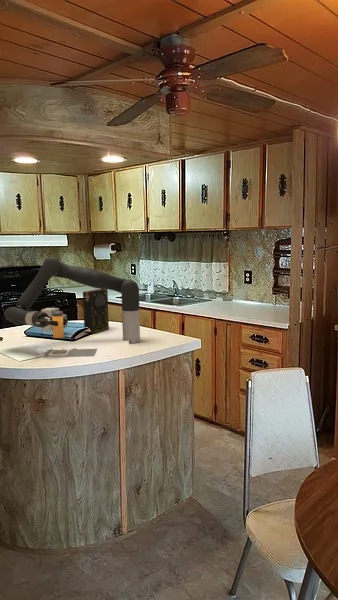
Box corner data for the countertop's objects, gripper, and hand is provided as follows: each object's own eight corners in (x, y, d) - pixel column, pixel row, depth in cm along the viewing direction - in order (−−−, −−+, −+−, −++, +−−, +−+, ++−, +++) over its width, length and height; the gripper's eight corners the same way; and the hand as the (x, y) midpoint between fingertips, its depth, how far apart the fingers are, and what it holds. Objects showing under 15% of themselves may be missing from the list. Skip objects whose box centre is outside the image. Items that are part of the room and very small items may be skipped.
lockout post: (64, 335, 222) (63, 311, 220) (62, 338, 217) (61, 312, 215) (54, 335, 221) (53, 311, 220) (52, 338, 216) (50, 313, 215)
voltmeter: (93, 334, 268) (91, 291, 265) (82, 332, 273) (80, 291, 269) (110, 329, 282) (109, 288, 278) (99, 328, 286) (98, 288, 282)
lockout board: (97, 351, 230) (97, 346, 230) (94, 359, 216) (94, 353, 216) (49, 352, 229) (48, 347, 229) (42, 360, 215) (42, 355, 215)
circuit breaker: (64, 336, 265) (63, 310, 263) (41, 335, 268) (40, 309, 266) (70, 333, 273) (69, 308, 270) (47, 332, 276) (46, 307, 273)
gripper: (24, 313, 219) (50, 317, 210) (47, 309, 231) (72, 312, 222) (25, 329, 220) (50, 333, 211) (48, 324, 232) (73, 327, 223)
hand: (61, 322), depth 217 cm, fingers closed on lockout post, 5 cm apart
